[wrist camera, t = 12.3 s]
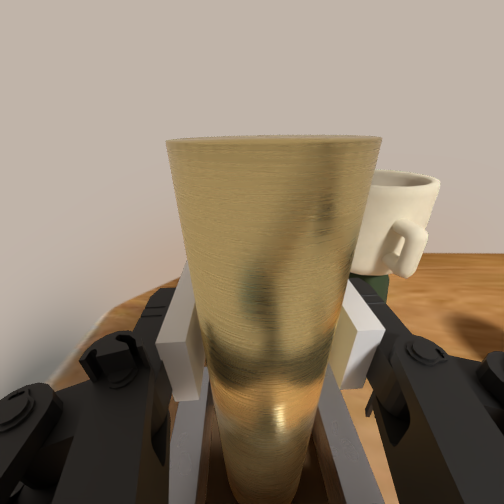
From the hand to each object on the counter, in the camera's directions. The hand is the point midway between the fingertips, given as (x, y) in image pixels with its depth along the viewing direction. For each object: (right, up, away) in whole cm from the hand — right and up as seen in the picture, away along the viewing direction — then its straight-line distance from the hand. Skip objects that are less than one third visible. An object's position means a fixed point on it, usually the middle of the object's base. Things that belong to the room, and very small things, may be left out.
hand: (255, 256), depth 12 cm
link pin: (0, -11, 0) cm, 11 cm away
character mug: (+9, -6, +10) cm, 15 cm away
